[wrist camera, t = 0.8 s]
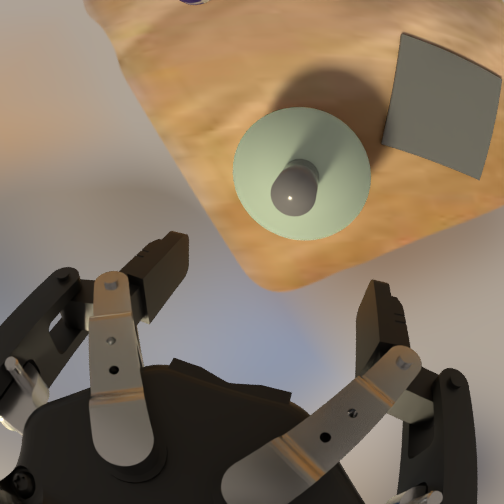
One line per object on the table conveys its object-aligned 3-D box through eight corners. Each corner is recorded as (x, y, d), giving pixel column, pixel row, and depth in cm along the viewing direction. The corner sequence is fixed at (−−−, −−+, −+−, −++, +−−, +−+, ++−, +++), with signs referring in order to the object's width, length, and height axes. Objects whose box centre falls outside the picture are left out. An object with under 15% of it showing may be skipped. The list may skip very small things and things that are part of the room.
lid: (244, 96, 23) (220, 97, 18) (383, 126, 21) (398, 134, 16) (229, 219, 30) (207, 248, 24) (349, 248, 28) (351, 284, 23)
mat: (400, 34, 20) (401, 33, 20) (499, 79, 18) (502, 79, 18) (381, 143, 26) (381, 144, 26) (477, 178, 24) (479, 180, 24)
